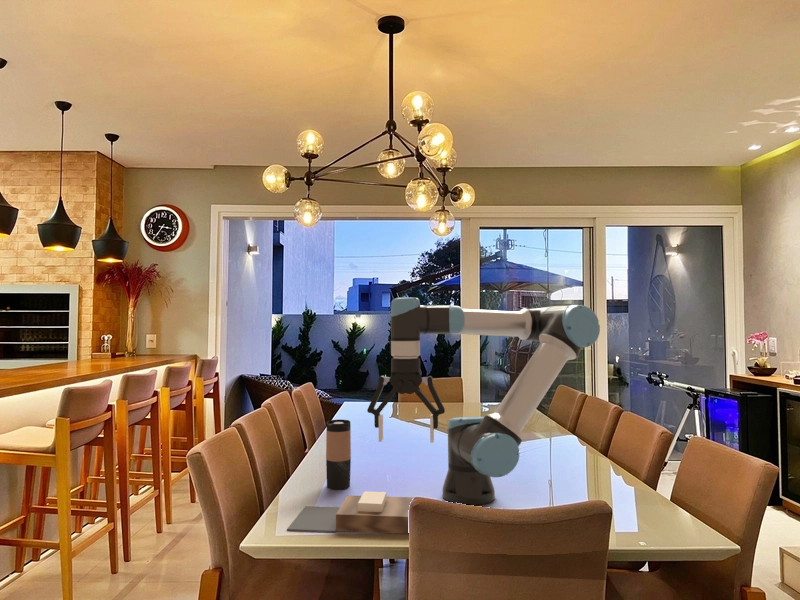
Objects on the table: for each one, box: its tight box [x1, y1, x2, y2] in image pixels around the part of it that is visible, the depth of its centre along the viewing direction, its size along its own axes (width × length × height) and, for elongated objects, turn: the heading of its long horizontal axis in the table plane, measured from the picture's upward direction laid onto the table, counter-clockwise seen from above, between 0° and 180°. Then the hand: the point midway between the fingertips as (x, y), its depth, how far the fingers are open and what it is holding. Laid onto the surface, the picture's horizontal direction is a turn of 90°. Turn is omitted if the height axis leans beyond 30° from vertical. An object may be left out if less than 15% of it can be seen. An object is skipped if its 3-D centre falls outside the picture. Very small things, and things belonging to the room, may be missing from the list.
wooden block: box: [336, 494, 415, 535], centre depth 132 cm, size 20×14×4 cm
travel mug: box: [325, 419, 352, 491], centre depth 161 cm, size 8×8×20 cm
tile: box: [358, 490, 387, 512], centre depth 133 cm, size 6×9×2 cm, turn 174°
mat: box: [286, 505, 341, 534], centre depth 134 cm, size 12×16×1 cm
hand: (406, 441), depth 133 cm, fingers open, 12 cm apart
